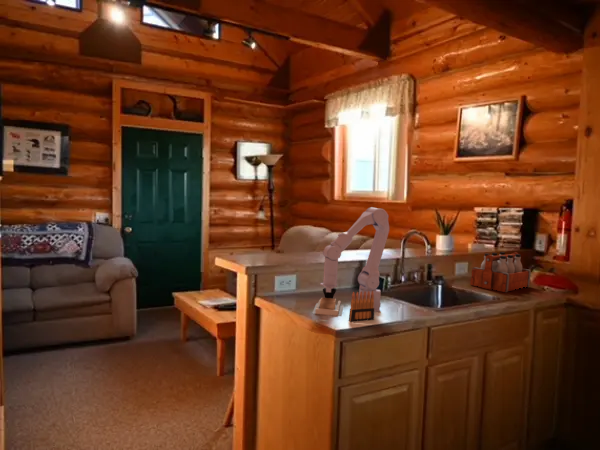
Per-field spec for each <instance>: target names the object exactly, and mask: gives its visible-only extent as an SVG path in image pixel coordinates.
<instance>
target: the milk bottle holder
mask: <svg viewBox="0 0 600 450" xmlns="http://www.w3.org/2000/svg"><path fill="white" fill-rule="evenodd" d="M521 258H522V257H521V254H520V253H519V252H516V251H514V252H512V253H511V254H510V253H509V254H506V252H504V251H500V252H499V255H498V252H491V253H487V252H486V253H484V256H483V259H484V260H483V261H482V262H481V264H480V267H472V269H471V276H470V286H473V287H477V286H478V288H482V289H486V290H492V289H493V290H492V291H496V290H497V292H502V293H508V292H510V291H516V290H520V289H519V288H521V289H524V288H523V287H525V288H526V287H528V288H530V287H529V286H531V274H532V273H531V272H532V271H531V269H527V268H523V264H522V262H521V260H522V259H521ZM515 289H516V290H515Z"/></svg>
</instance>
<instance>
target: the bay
mask: <svg viewBox="0 0 600 450" xmlns="http://www.w3.org/2000/svg"><path fill="white" fill-rule="evenodd" d="M320 300H321V298H320V299H319V300H318V302H316V303H315V306H314V309H313V310H312V313H311V314H312V315H320V316H321V315H324V316H332V317H333V316H335V317H342V315H343V310H344V305H341V300H338V301H337V304H336V305H335V310H331V309H320Z"/></svg>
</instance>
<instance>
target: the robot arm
mask: <svg viewBox="0 0 600 450" xmlns="http://www.w3.org/2000/svg"><path fill="white" fill-rule="evenodd" d="M368 225H369V226H370V225H372V226H373V228H374V229H375V233H374V237H373V241H372V244H371V247H370V250H369V254H368V258H367V261H366V264H365V266H363V267H362V270H361V271H360V273H359V274H358V276H357V282H358V284H359V289H358V291H359V292H358V294H359V297H360V292H361V291H362V301H363V295H364V292H365V291H366V300H367V294H368V291H369V292H370V299H371V293H372V291H373V293H374V312H376V313H379V312H380V308H381V306H382V305H381V304H382V303H381V296H382V295H381V289H378V287H379V285H380V276H381V275H380V271H379V267H380V264H381V259H382V256H383V253H384V249H385V246H386V244H387V243H386V242H387V239H388V236H389V233H390V224H389V214H388V212H387V211H386V210H385V209H384V208H379V207H378V208H377V207H373V206H371V207H368V208H367V209H365V211H363V212H362V213H361V215H360V216H359V217H358V218H357V220H356V221H355V222H354V223H353V224H352V226H351V227H349V229H348V230H347V231H345V232H343V231H342V232H341V233H338V234H337V237H336V238H335V239H334V240H333V241H330V244H328V245H326V246H325V247H324V249H323V251H322V255H323V257H324V264H323V265H324V266H323V280H322V281H323V282H320V285H319V286H322V287H323V288H322V292H323V295H324V298H333V299H334V296H335V294H336V293H337V287H338V271H339V270H338V268H339V267H338V266H339V259H341V256H342V252H343V251H345V250H346V248H348V246H349V245H351V243H353V237H355V236H356V235H357V234H358V233H359V232H360V231H361V230H363V228H364V227H366V226H368Z"/></svg>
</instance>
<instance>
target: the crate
mask: <svg viewBox="0 0 600 450" xmlns="http://www.w3.org/2000/svg"><path fill="white" fill-rule="evenodd" d="M320 299H321V300H320ZM320 299H319V300H320V309H331V310H335V305H337V304H336V302H337V301H336V300H337V299H336V298H334V297H333V298H325V297H321V298H320Z"/></svg>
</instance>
